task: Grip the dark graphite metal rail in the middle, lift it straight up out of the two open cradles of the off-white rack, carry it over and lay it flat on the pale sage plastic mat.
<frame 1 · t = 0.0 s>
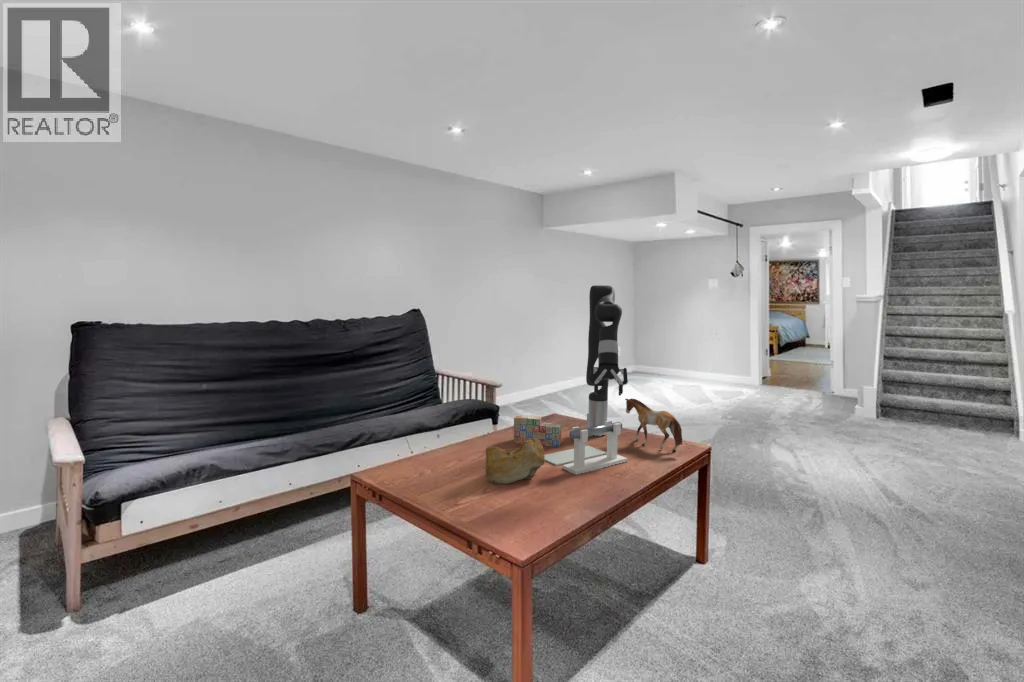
hand: (608, 394, 196), 31 cm above the table, tool tilted 20°, fingers open, 8 cm apart
horse figurine: (651, 448, 233), on the table
stack of blocks: (537, 443, 239), on the table
mat: (573, 455, 222), on the table
rough brown rock: (511, 477, 197), on the table
rail: (596, 434, 209), point 13 cm above the table, touching rack
rack: (595, 465, 210), on the table
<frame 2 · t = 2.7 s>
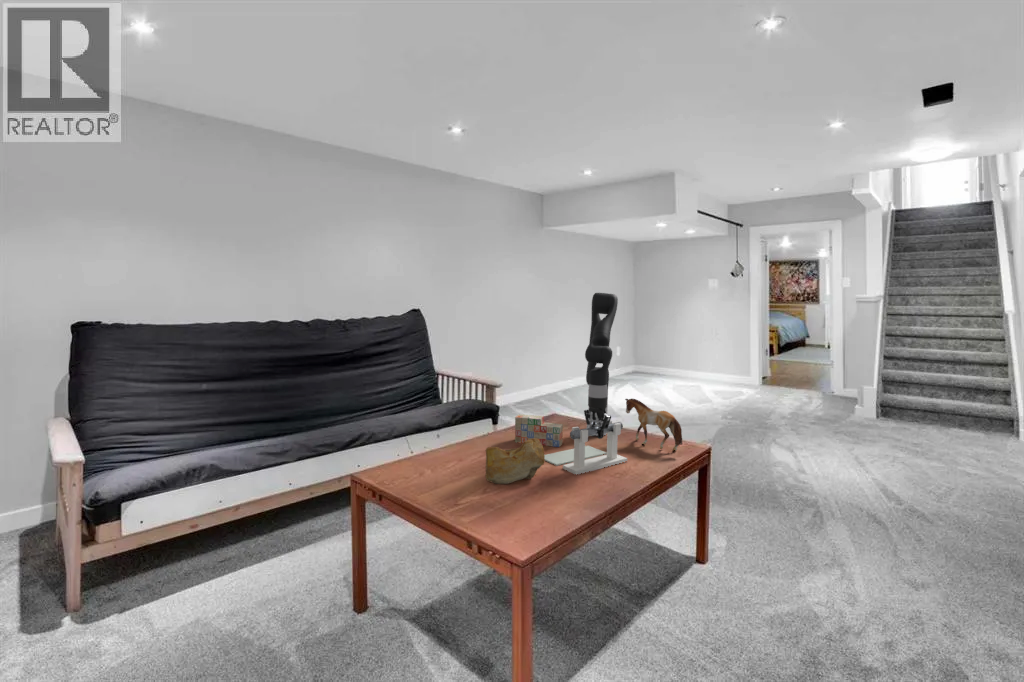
hand: (596, 436, 209), 12 cm above the table, tool pointing down, fingers open, 3 cm apart
rail: (596, 434, 209), point 13 cm above the table, tilted 10°, touching gripper, rack
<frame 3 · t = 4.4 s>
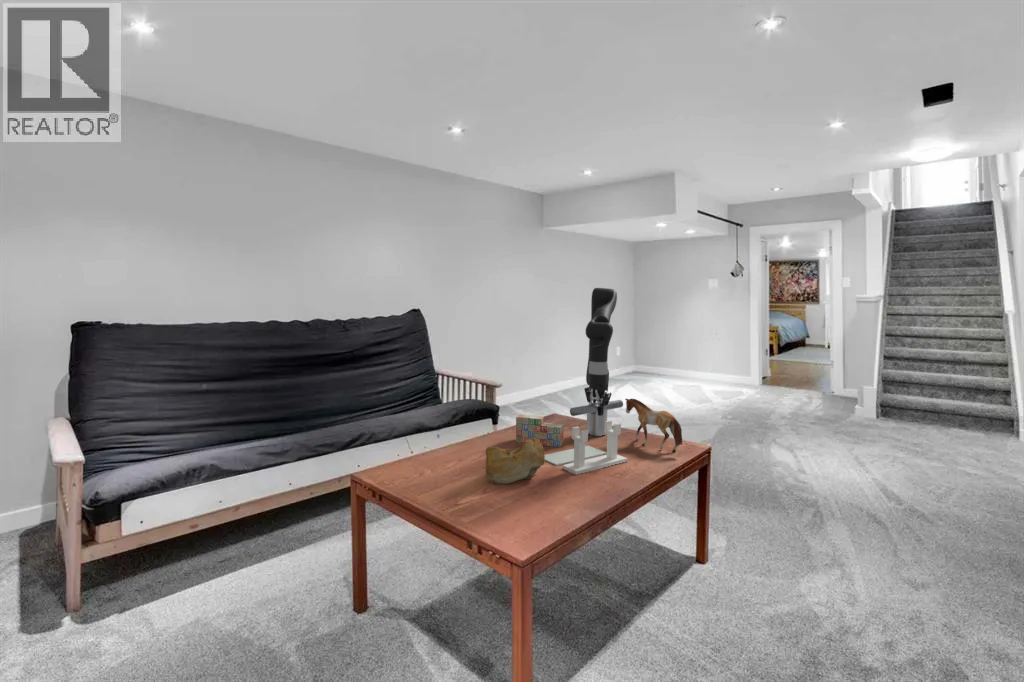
hand: (597, 414, 208), 21 cm above the table, tool pointing down, fingers closed on rail, 3 cm apart
rail: (596, 411, 208), point 22 cm above the table, tilted 9°, touching gripper
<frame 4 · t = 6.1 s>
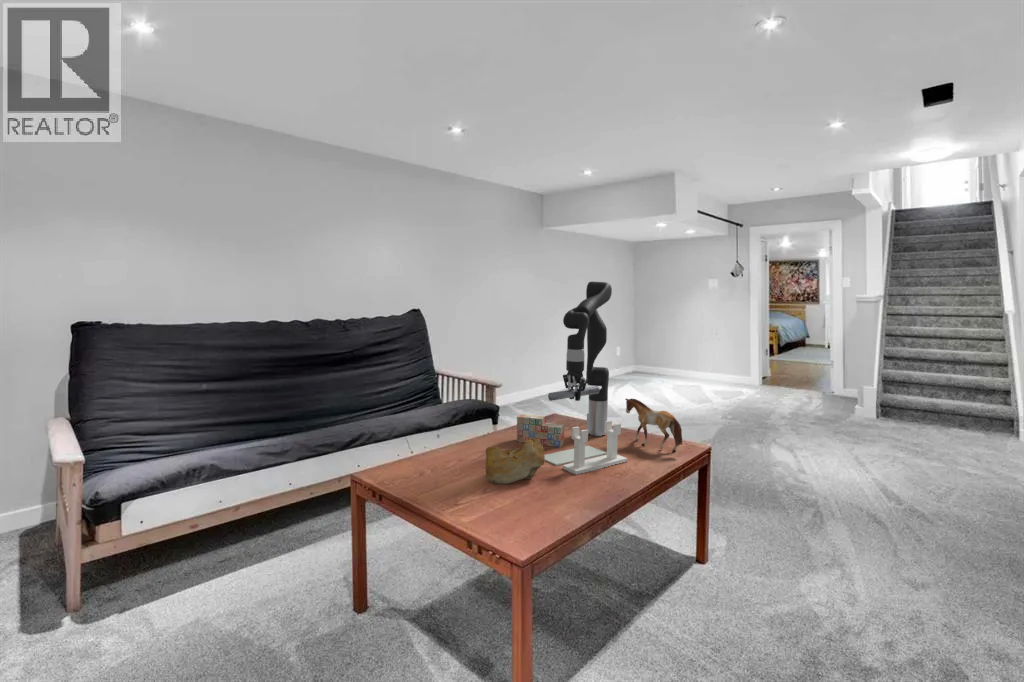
hand: (574, 399, 219), 25 cm above the table, tool pointing down, fingers closed on rail, 3 cm apart
rail: (574, 396, 219), point 26 cm above the table, tilted 9°, touching gripper
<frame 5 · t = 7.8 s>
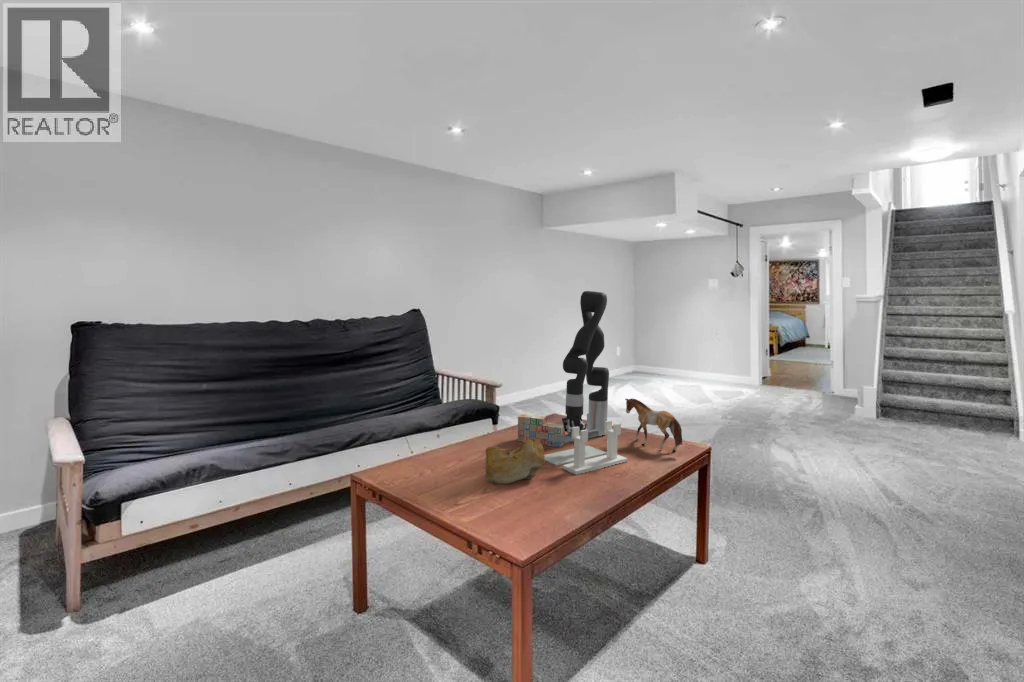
hand: (573, 443, 221), 6 cm above the table, tool pointing down, fingers closed on rail, 3 cm apart
rail: (573, 440, 221), point 7 cm above the table, tilted 9°, touching gripper
when the fingers open (1 cm above the table, at t = 9.0 s): rail drops 2 cm, resting on mat.
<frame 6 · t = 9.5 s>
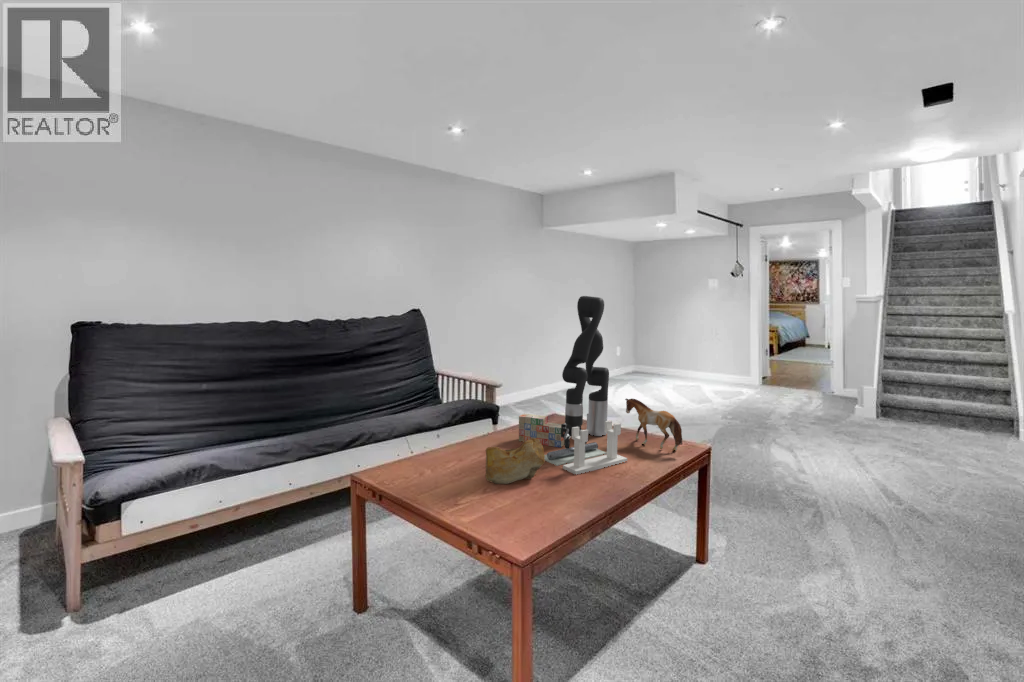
hand: (573, 450, 221), 2 cm above the table, tool pointing down, fingers open, 8 cm apart
rail: (572, 454, 222), point 1 cm above the table, tilted 7°, touching mat
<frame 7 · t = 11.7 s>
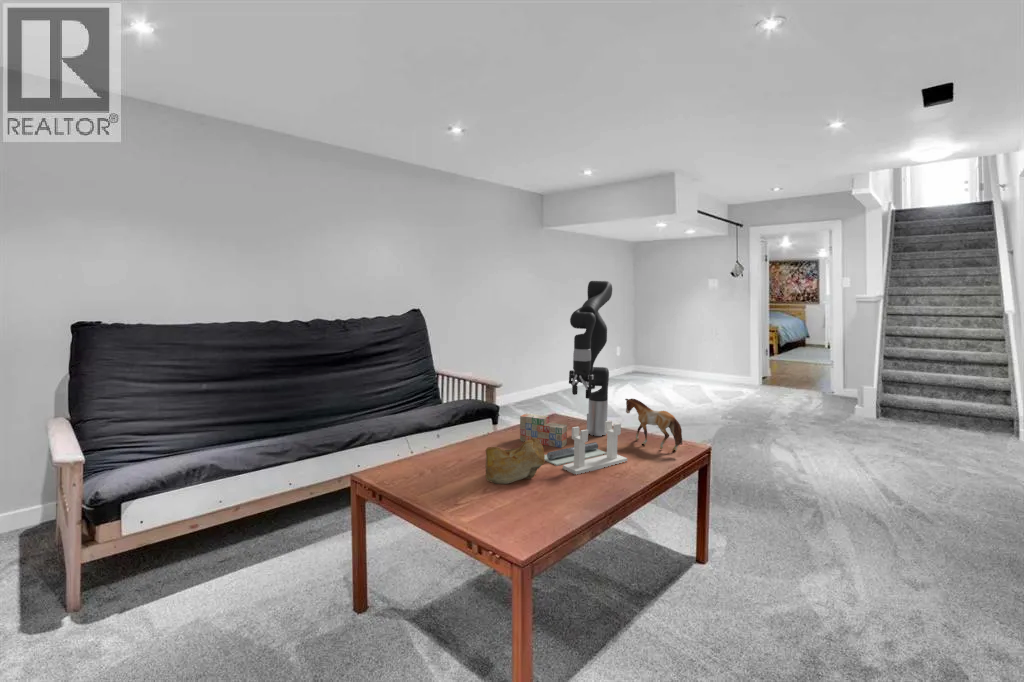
hand: (581, 396, 221), 25 cm above the table, tool pointing down, fingers open, 8 cm apart
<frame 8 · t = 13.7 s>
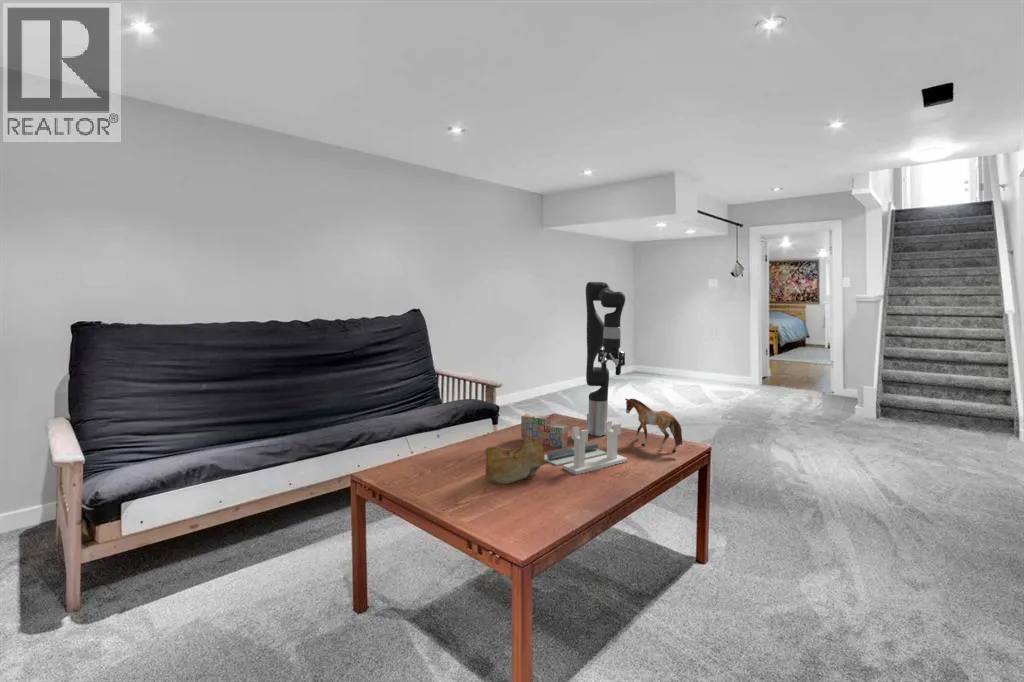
hand: (610, 373, 228), 34 cm above the table, tool pointing down, fingers open, 8 cm apart
at the end: rail inside the target area on the mat (0.3 cm from its centre), point 0.6 cm above the mat's base; rail touching mat; the gripper is holding nothing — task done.
